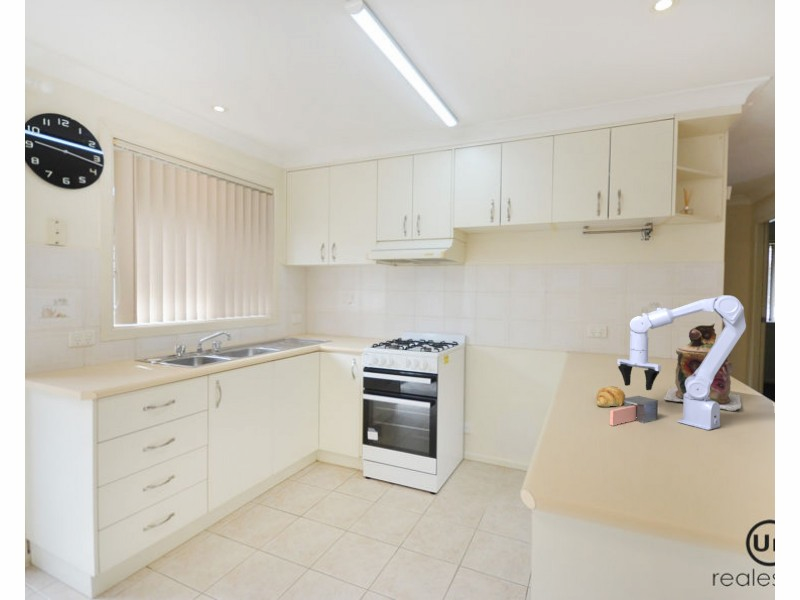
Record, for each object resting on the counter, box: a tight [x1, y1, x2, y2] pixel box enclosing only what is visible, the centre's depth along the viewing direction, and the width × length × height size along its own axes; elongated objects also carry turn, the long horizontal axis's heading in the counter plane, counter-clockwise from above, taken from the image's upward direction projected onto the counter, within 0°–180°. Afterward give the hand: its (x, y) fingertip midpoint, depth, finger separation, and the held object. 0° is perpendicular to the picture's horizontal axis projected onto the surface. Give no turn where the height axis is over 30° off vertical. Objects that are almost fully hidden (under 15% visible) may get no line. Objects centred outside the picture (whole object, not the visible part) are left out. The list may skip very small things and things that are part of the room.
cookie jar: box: [663, 323, 742, 412], centre depth 164 cm, size 25×25×32 cm
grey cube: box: [624, 395, 659, 424], centre depth 140 cm, size 7×8×7 cm
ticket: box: [609, 405, 637, 426], centre depth 135 cm, size 1×13×5 cm, turn 119°
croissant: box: [595, 385, 626, 408], centre depth 159 cm, size 21×10×8 cm, turn 131°
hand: (637, 387), depth 144 cm, fingers open, 7 cm apart
